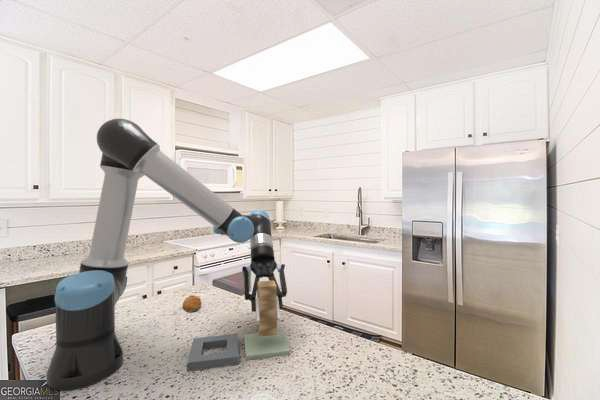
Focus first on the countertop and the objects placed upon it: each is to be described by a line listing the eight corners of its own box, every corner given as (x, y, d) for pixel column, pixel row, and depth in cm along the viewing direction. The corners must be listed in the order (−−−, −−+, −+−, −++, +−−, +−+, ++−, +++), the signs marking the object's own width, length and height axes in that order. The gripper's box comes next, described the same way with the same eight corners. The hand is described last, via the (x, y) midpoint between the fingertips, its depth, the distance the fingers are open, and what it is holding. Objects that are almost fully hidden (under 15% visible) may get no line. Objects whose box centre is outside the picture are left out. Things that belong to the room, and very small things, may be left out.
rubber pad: (245, 360, 76) (245, 356, 75) (243, 337, 87) (243, 334, 87) (290, 354, 78) (290, 350, 78) (282, 333, 90) (282, 330, 90)
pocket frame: (186, 371, 71) (186, 363, 71) (193, 345, 83) (193, 338, 83) (238, 364, 74) (238, 356, 74) (237, 340, 86) (237, 333, 86)
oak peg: (259, 336, 80) (258, 287, 79) (257, 328, 85) (257, 281, 84) (276, 334, 81) (276, 285, 81) (274, 326, 86) (274, 280, 86)
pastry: (203, 311, 107) (202, 301, 107) (183, 314, 104) (183, 304, 104) (200, 302, 116) (199, 293, 116) (182, 305, 113) (182, 296, 113)
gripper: (287, 255, 99) (298, 323, 84) (234, 258, 95) (235, 330, 80) (290, 242, 94) (302, 312, 78) (234, 245, 90) (235, 319, 74)
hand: (268, 321), depth 79 cm, fingers closed on oak peg, 5 cm apart
